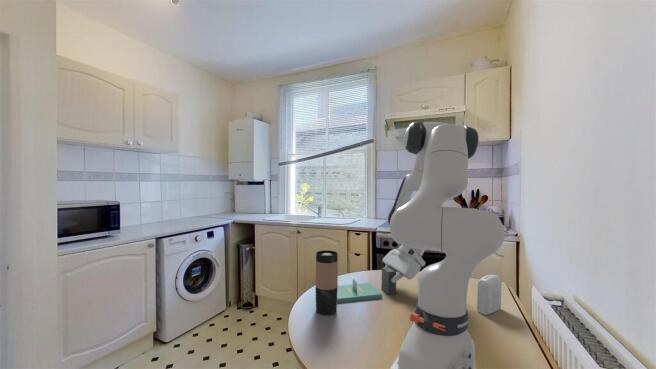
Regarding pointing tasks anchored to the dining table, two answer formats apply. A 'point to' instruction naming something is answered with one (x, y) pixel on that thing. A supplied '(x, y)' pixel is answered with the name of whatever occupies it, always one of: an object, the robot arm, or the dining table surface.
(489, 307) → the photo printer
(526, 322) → the dining table surface
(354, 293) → the teal plate
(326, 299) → the travel mug
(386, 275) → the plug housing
